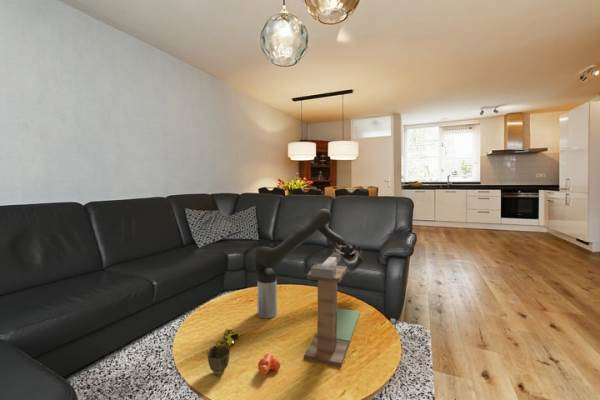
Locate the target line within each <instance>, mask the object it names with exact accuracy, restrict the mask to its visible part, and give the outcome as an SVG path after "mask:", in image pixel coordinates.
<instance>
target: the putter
mask: <svg viewBox="0 0 600 400" xmlns="http://www.w3.org/2000/svg"><path fill="white" fill-rule="evenodd" d="M341 260H342V256H341V253H340V252H338V251H337V252H332V253H331V254H330V256H328V257H327V259H326V260H324V262H323V263H321V264H322V265H317V264H313V265H312V266H311V267H310V271H311V276H314V277H322V278H330V279H333V278H334V277H335V275H336V267H335V266H338V264H339V263H340V261H341Z"/></svg>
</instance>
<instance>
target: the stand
mask: <svg viewBox="0 0 600 400" xmlns="http://www.w3.org/2000/svg"><path fill="white" fill-rule="evenodd" d="M322 264H323V263H317V264H316V265H322ZM335 267H336V275H335V277H334V278H333V279H330V278H322V277H314V276H311V270H310V271H308V273H306V279H308V280H314V281H317V333H318V336H317V334H316V335H315V334H314V337H313V339H312V340H311V342H310V344H309V345H308V347H307V349H306V350H305V352H304V354H303V359H305V360H309V361H314V362H318V363H323V364H327V365H330V366H335V367H340V368H342V366H343V363H344V361H345V358H346V355H347V351H348V349H349V347H350V346H349V345H350V343H349V342H347V341H342V340H337V308H338V284H339V283H341V280H343V278H344V277H345V275H346V273H347V272H348V269H347V267H346V266H345V265H344V266H343V265H336V266H335Z"/></svg>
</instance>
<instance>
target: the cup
mask: <svg viewBox="0 0 600 400" xmlns="http://www.w3.org/2000/svg"><path fill="white" fill-rule="evenodd" d="M217 345H218V347H217V346H216V345H213V346H212V347H210V348H209V351H207V352H206V356H207V361H208V366H209V368H210V370H211V371H212V372H213V374H214V376H217V375H219V376H222V375H224V372H225V371H226V369H227V367H228V365H229V361H230V351H231V348H230V347H227V345H222V346H221V347H220V345H219V344H217ZM221 374H222V375H221Z"/></svg>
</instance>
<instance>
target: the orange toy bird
mask: <svg viewBox="0 0 600 400" xmlns="http://www.w3.org/2000/svg"><path fill="white" fill-rule="evenodd" d="M273 353H274V348H270V349H269V353H265V355H264V356H263V358H261V359H260V360H259V361H258V363H257V366H258V368H257V369H258V371H259V372H260V374H261V375H262V379H265V378H266V376H267V374H268V373H269V372H270V370H272V371H276V372H277V371H278V370H279V369H280V368H281V363H280V361H279V359H276V358H274V356H273Z"/></svg>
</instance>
